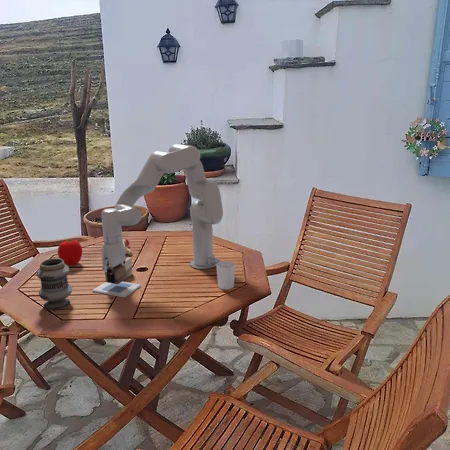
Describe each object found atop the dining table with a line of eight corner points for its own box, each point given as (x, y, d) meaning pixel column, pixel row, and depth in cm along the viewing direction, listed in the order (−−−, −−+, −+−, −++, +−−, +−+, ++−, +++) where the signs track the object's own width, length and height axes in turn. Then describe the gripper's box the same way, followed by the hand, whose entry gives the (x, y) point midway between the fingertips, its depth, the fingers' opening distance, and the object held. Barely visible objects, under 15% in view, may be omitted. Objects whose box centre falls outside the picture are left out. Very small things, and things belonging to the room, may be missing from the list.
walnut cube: (126, 279, 186) (125, 265, 185) (117, 284, 181) (116, 270, 179) (114, 277, 189) (113, 264, 187) (105, 282, 183) (104, 268, 182)
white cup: (222, 291, 182) (221, 269, 179) (213, 285, 189) (213, 263, 186) (238, 287, 186) (238, 265, 183) (229, 281, 192) (229, 260, 190)
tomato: (64, 270, 207) (61, 245, 203) (56, 264, 214) (53, 239, 211) (87, 265, 214) (85, 239, 210) (78, 259, 222) (75, 235, 218)
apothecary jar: (41, 314, 164) (35, 269, 159) (40, 301, 175) (34, 258, 170) (75, 308, 169) (70, 264, 164) (72, 296, 180) (67, 254, 175)
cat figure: (136, 257, 228) (124, 240, 249) (135, 241, 225) (124, 225, 246) (117, 260, 224) (107, 243, 245) (116, 244, 221) (106, 228, 242)
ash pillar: (132, 274, 202) (131, 257, 200) (126, 278, 197) (124, 261, 195) (123, 272, 204) (122, 256, 201) (116, 276, 199) (115, 260, 197)
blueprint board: (141, 286, 188) (141, 284, 188) (124, 297, 178) (124, 295, 177) (110, 281, 194) (110, 279, 194) (92, 291, 183) (92, 289, 183)
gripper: (117, 232, 189) (120, 271, 194) (91, 243, 173) (95, 286, 178) (132, 234, 186) (135, 273, 191) (107, 245, 171) (110, 288, 176)
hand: (116, 279), depth 185 cm, fingers closed on walnut cube, 6 cm apart
